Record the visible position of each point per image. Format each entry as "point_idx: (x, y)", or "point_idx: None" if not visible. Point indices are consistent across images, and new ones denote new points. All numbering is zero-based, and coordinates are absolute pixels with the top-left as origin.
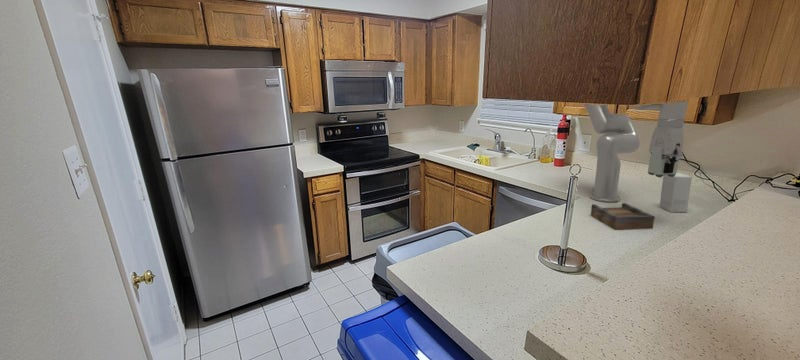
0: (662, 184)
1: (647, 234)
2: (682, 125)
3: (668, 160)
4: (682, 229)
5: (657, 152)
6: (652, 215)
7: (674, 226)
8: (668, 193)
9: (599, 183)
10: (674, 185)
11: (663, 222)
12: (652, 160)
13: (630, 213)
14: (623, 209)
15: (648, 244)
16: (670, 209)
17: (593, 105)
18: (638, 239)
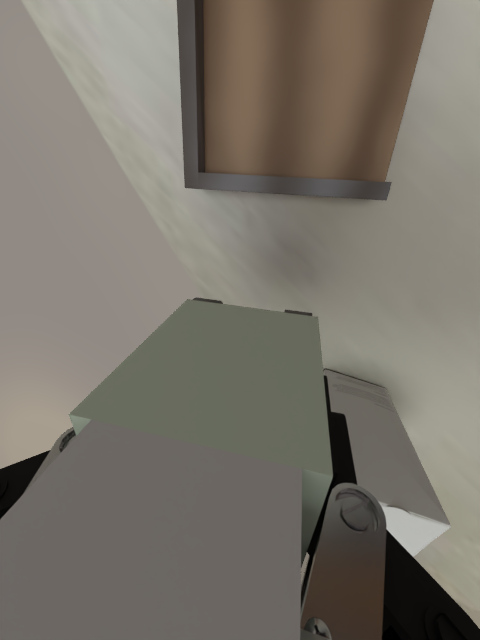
0: (418, 462)
1: (151, 116)
2: None
3: (58, 455)
4: (189, 276)
5: (55, 601)
6: (196, 188)
7: (213, 275)
8: (357, 420)
9: None
10: None
11: (249, 272)
12: (260, 406)
13: (291, 155)
14: (351, 164)
15: (63, 37)
16: (326, 374)
17: None
18: (103, 28)
